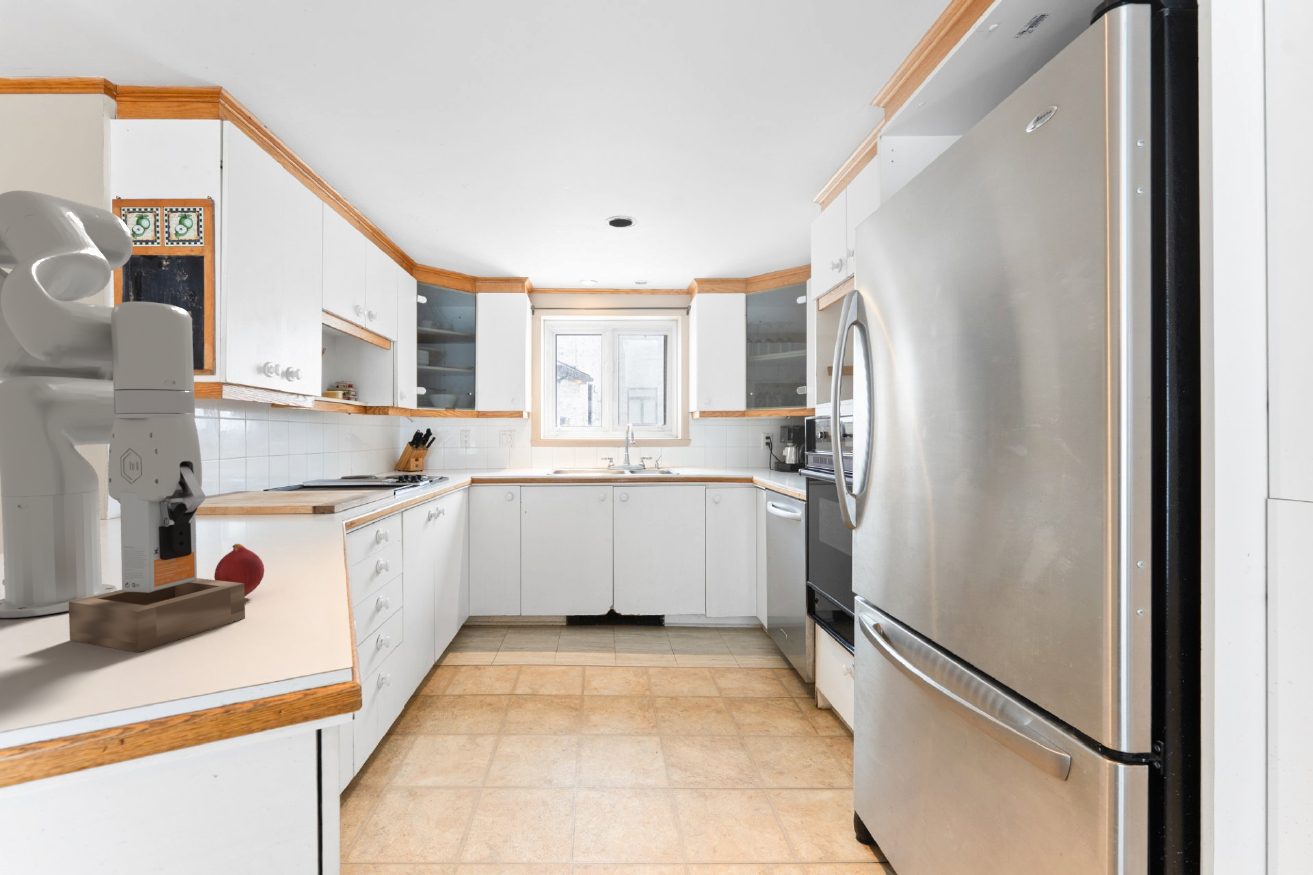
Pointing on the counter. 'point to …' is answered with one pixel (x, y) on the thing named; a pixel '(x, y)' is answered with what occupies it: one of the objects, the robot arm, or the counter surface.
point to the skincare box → (150, 548)
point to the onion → (241, 568)
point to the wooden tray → (155, 614)
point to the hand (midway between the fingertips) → (160, 554)
